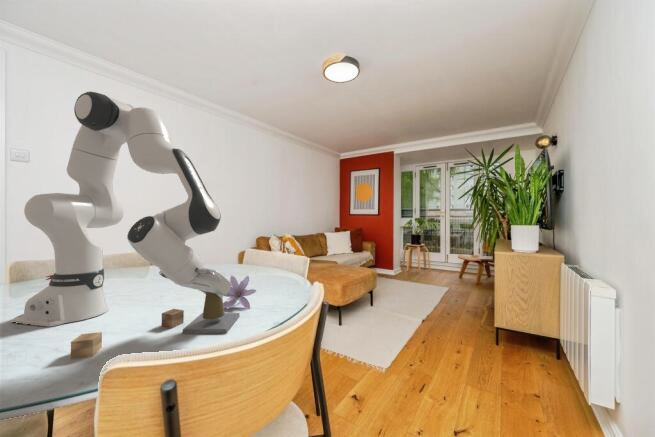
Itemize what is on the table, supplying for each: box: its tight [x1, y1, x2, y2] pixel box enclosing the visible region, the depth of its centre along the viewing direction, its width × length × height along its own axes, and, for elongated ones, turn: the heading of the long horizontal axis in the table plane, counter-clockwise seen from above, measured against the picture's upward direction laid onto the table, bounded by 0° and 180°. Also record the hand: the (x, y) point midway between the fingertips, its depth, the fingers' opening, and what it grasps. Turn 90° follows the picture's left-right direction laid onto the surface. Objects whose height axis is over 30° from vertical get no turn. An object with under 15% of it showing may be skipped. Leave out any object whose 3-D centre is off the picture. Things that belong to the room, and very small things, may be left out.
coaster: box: [182, 312, 240, 335], centre depth 77 cm, size 12×12×1 cm
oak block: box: [70, 331, 103, 360], centre depth 61 cm, size 4×4×4 cm
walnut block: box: [161, 308, 185, 329], centre depth 77 cm, size 4×4×4 cm
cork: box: [202, 292, 225, 319], centre depth 77 cm, size 6×6×11 cm
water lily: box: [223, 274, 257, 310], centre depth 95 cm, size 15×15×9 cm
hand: (215, 294), depth 78 cm, fingers closed on cork, 4 cm apart
